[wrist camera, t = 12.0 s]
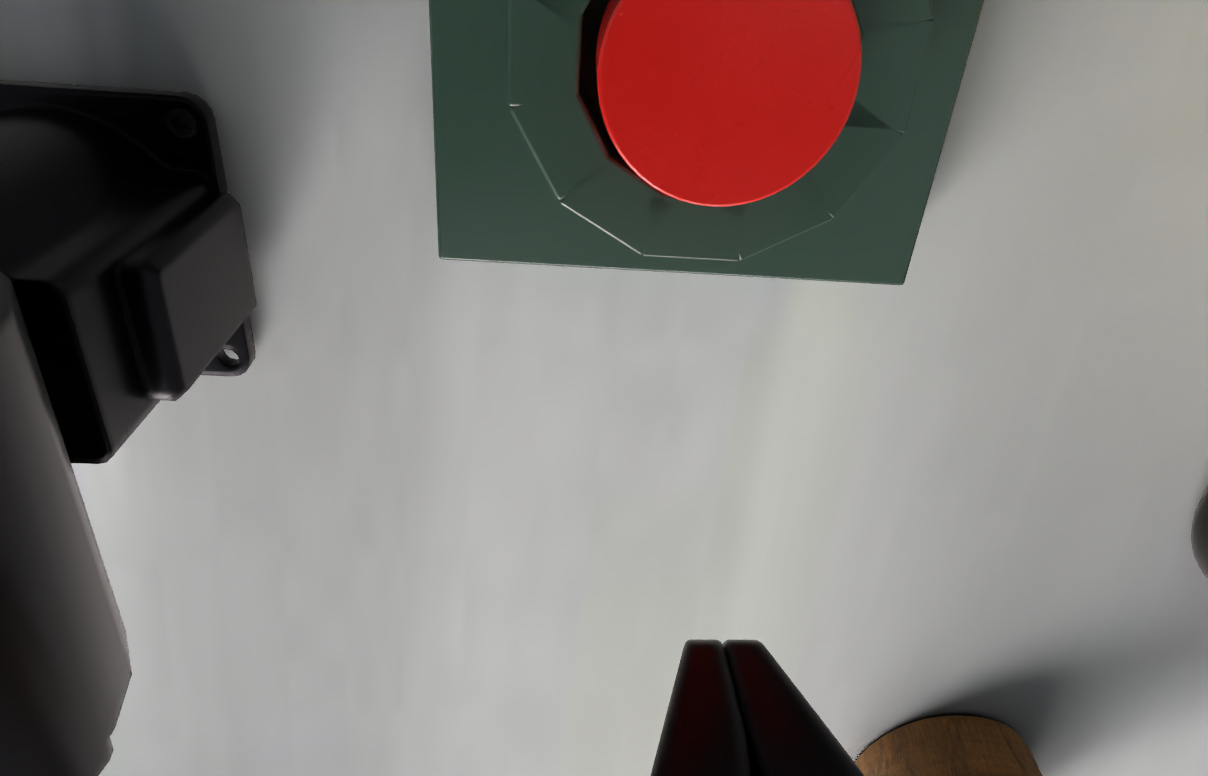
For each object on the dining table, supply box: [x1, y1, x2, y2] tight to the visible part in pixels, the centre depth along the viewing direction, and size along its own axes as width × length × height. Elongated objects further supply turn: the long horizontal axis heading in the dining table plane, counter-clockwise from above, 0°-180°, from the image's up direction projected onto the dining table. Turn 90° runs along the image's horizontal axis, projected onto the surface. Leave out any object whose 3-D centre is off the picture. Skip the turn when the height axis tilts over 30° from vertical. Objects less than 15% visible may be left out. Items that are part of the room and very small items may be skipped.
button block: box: [429, 0, 984, 285], centre depth 15 cm, size 10×9×4 cm
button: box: [596, 0, 862, 207], centre depth 13 cm, size 4×4×2 cm
